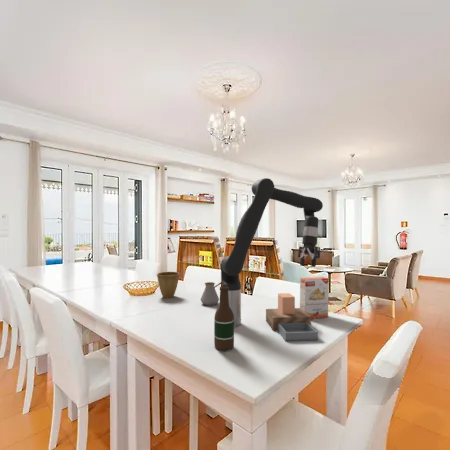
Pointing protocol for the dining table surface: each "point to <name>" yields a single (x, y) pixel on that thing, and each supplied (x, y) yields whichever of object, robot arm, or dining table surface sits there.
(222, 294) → the beer bottle
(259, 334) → the dining table surface
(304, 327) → the box
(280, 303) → the terracotta block
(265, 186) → the robot arm
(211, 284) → the coffee pot
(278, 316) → the walnut platform
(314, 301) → the cracker box
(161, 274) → the plant pot
